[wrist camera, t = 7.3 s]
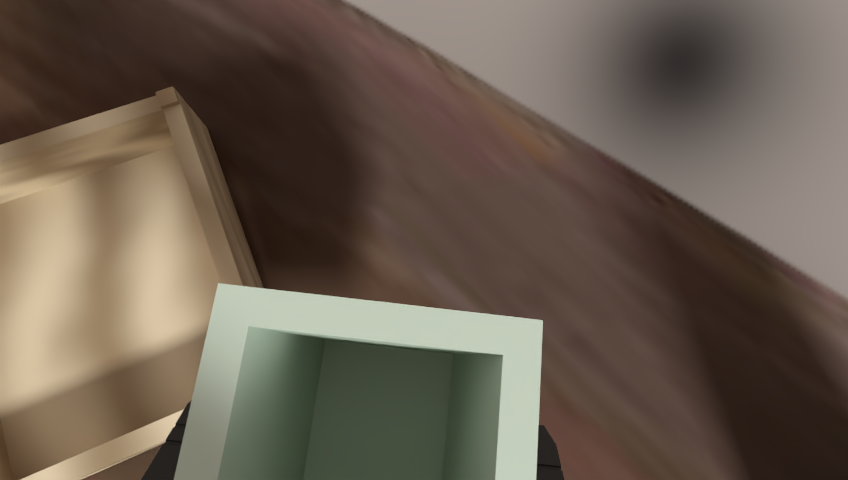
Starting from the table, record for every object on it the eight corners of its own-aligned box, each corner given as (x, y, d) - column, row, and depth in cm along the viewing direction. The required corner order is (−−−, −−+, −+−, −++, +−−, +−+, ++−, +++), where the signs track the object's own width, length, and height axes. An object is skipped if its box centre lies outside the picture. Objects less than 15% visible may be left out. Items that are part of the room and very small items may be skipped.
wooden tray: (207, 127, 30) (172, 86, 25) (297, 384, 26) (277, 391, 22) (-51, 213, 28) (-141, 185, 23) (11, 510, 24) (-81, 547, 19)
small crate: (470, 337, 17) (542, 320, 8) (451, 579, 15) (518, 894, 6) (313, 319, 17) (218, 283, 8) (272, 561, 15) (88, 855, 6)
